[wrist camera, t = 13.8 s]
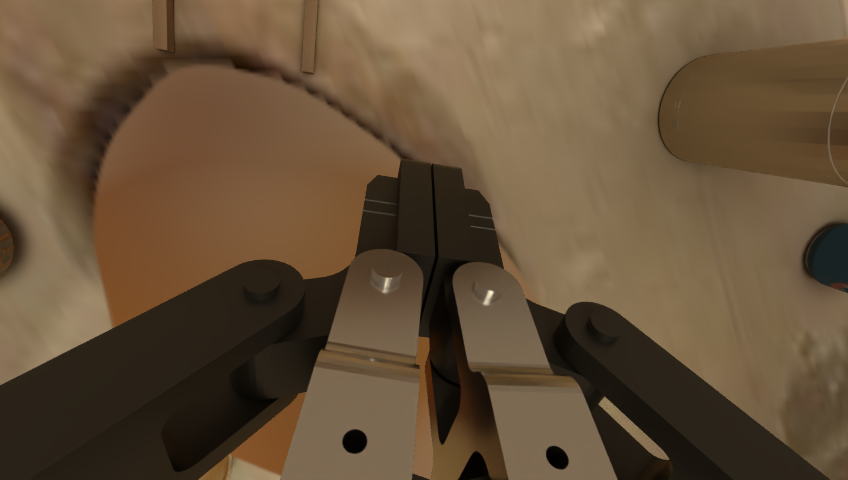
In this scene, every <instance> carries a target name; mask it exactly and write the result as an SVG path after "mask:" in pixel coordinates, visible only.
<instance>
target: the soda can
mask: <svg viewBox="0 0 848 480" xmlns="http://www.w3.org/2000/svg"><path fill="white" fill-rule="evenodd" d="M806 266H807V268H808V270H809V271H810V273H811V274H812V275H813V276H814V278H815V279H816V280H817V281H819V282H820V283H822V284H824V285H827V286H830V287H832V288H835V289H838V290H841V291H843V292H846V293H848V223H847V224H841V225H837V226H833V227H829V228H826V229H824V230H823V231H821V232H820V233H819V234H818V235H817V236H816V237H815V238H814V239H813V240H812V242H811V243H810V245H809V247H808V250H807V253H806Z"/></svg>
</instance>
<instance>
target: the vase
mask: <svg viewBox="0 0 848 480" xmlns="http://www.w3.org/2000/svg"><path fill="white" fill-rule="evenodd" d="M13 253H14V243H13V238H12V235H11V233H10V231H9V229H8V228H7V226H6V225H5V223H4V222H3V221H2V220H1V219H0V278H1V277H2V276H3V275H4V273H5V272H6V270H7V269H8V267H9V265H10V263H11V261H12V257H13Z"/></svg>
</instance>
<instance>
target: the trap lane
mask: <svg viewBox="0 0 848 480" xmlns="http://www.w3.org/2000/svg"><path fill="white" fill-rule="evenodd" d="M152 10H153V48H155V49H158V50H161V51H167V52H173V53H175V50H174V0H152ZM317 15H318V0H305V16H304V34H303V52H302V69H301V71H302V72H303V73H310V74H314V62H315V46H316V30H317Z"/></svg>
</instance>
